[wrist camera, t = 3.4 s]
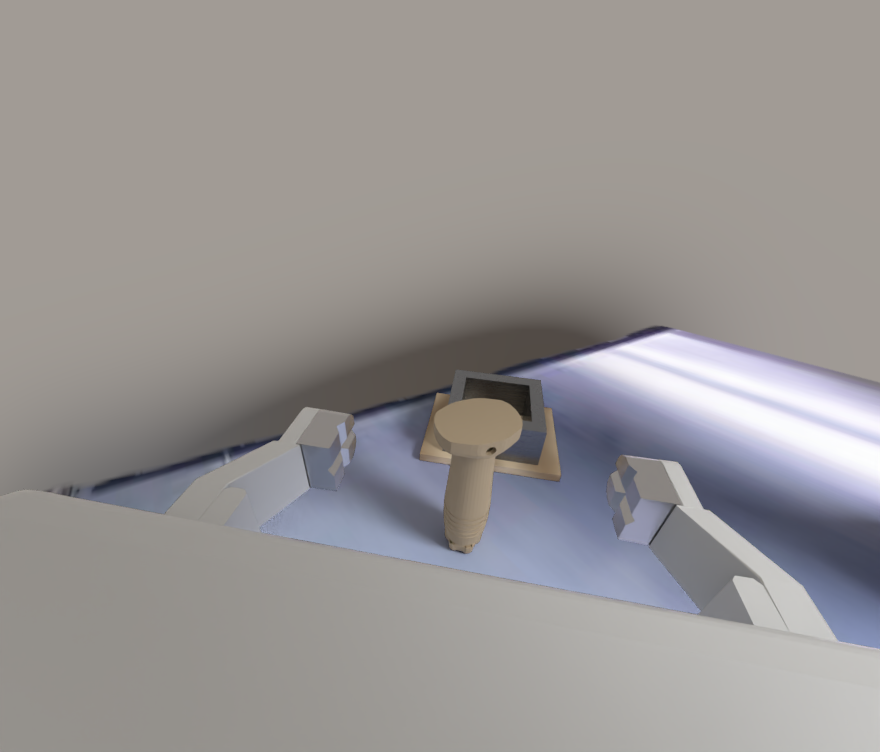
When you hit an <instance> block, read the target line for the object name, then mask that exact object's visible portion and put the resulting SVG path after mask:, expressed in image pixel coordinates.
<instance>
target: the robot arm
mask: <svg viewBox="0 0 880 752" xmlns="http://www.w3.org/2000/svg"><path fill="white" fill-rule="evenodd" d="M353 426H354V418H353V416H352V415H351V414H346V413H340V412H335V411H328V410H323V409H315V408H309V407H306V408H304V409H302V411H301V412H300V413H299V415H298V416H297V417H296V419H295V420H294V421H293V422H292V424H291V425H290V426H289V428H288V429H287V430H286V432H285V433H284V434H283V436H282V437H281V438H280V440H279V441H272V442H270V443H268V444H266V445H264V446H262V447H260V448H258V449H256V450H254V451H252V452H250V453H248V454H246V455H244V456H242V457H240V458H238V459H236V460H234V461H232V462H230V463H228V464H225V465H223V466H221V467H219V468H217V469H215V470H213V471H211V472H209V473H207V474H205V475H203V476H201V477H199V478H197V479H196V480H195V481H194V482H193V483H192V484H191V485H190V486H189V487H188V488H187V489H186V491H185V492H184V493H183V494H182V495H181V496H180V497H179V498H178V499H177V500H176V502H175V503H174V504H173V505H172V506H171V507H170V508H169V509H168V510H167V511H166V512H165V514H160V513H154V512H149V511H144V510H138V509H133V508H128V507H122V506H117V505H112V504H106V503H101V502H96V501H90V500H85V499H80V498H74V497H69V496H64V495H59V494H55V493H50V492H45V491H38V490H20V491H15V492H12V493H8V494H5V495H2V496H0V752H880V649H878V648H872V647H867V646H862V645H856V644H851V643H846V642H840V641H838V640H837V639H836V637H835V635H834V634H833V632H832V631H831V629H830V628H829V626H828V625H827V623H826V621H825V620H824V618H823V617H822V615H821V614H820V612H819V611H818V609H817V607H816V606H815V604H814V603H813V601H812V600H811V598H810V596H809V595H808V593H807V592H806V590H805V589H804V587H803V586H802V585H801V584H800V583H798V582H797V581H796V580H795V579H793V578H792V577H791V576H790V575H788V574H787V573H786V572H785V571H784V570H782V569H781V568H780V567H779V566H777V565H776V564H775V563H774V562H772V561H771V560H770V559H769V558H768V557H766V556H765V555H764V554H763V553H761V552H760V551H759V550H758V549H756V548H755V547H754V546H753V545H752V544H750V543H749V542H748V541H747V540H745V539H744V538H743V537H742V536H740V535H739V534H738V533H737V532H736V531H734V530H733V529H732V528H731V527H729V526H728V525H727V524H726V523H724V522H723V521H722V520H721V519H720V518H718V517H717V516H716V515H715V514H713V513H712V512H711V511H710V510H705V509H703V507H702V505H701V503H700V501H699V499H698V498H697V496H696V494H695V492H694V490H693V488H692V486H691V484H690V482H689V480H688V478H687V476H686V474H685V473H684V471H683V469H682V467H681V465H680V464H679V463H678V462H674V461H667V460H659V459H658V460H656V459H650V458H643V457H636V456H629V455H621V456H620V457H618V459H617V462H616V467H617V471H615V472H613V473H612V474H610V477H609V479H608V482H607V489H606V493H607V500H608V505H609V506H610V507H611V508H612V509H613V510H614V512H615V514H614V516H613V518H612V520H613V524H614V527H615V531H616V535H617V538H618V540H623V541H628V542H633V543H638V544H643V545H648V546H649V548H650V549H651V550H652V552H653V553H654V554H655V555H656V557H657V558H658V559H659V560H660V561H661V563H662V564H663V565H664V566H665V568H666V569H667V570H668V571H669V572H670V574H671V575H672V576H673V577H674V579H675V580H676V581H677V582H678V584H679V585H680V586H681V587H682V588H683V590H684V591H685V592H686V593H687V595H688V596H689V597H690V598H691V599H692V601H693V602H694V603H695V604H696V606H697V607H698V608H699V609H700V611H701V612H700V613H699V614H698V615H697V614H692V613H686V612H681V611H676V610H670V609H665V608H660V607H654V606H649V605H644V604H639V603H633V602H628V601H623V600H617V599H612V598H607V597H601V596H596V595H591V594H585V593H580V592H574V591H569V590H564V589H558V588H553V587H548V586H542V585H537V584H532V583H526V582H521V581H515V580H510V579H505V578H499V577H494V576H489V575H484V574H478V573H473V572H468V571H462V570H457V569H452V568H447V567H441V566H436V565H431V564H425V563H420V562H415V561H410V560H404V559H399V558H394V557H388V556H383V555H378V554H372V553H367V552H362V551H356V550H351V549H346V548H340V547H335V546H330V545H325V544H319V543H314V542H309V541H303V540H298V539H293V538H287V537H282V536H277V535H271V534H266V533H261V530H260V527H261V526H262V525H263V524H265V523H266V522H267V521H269V520H270V519H271V518H272V517H274V516H275V515H276V514H278V513H279V512H280V511H282V510H283V509H284V508H285V507H287V506H288V505H289V504H291V503H292V502H293V501H295V500H296V499H297V498H299V497H300V496H301V495H302V494H304V493H305V492H306V491H308V490H309V489H310V488H309V487H311V488H318V489H325V490H332V491H337V489H338V487H339V485H340V483H341V481H342V479H343V477H344V475H345V473H344V467H345V466H347V465H348V464H350V462H351V460H352V458H353V455H354V451H355V447H356V435H355V434H354V432H353V431H352V428H353Z"/></svg>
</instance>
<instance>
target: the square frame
mask: <svg viewBox="0 0 880 752" xmlns="http://www.w3.org/2000/svg"><path fill="white" fill-rule="evenodd" d="M474 398H486V399H496V400H502V401H504V402H506V403H508V404H510V405H511V406H512V407H514V408H515V409H516V411H517V412H518V413H519V415H520V416H523V420H522V422H523V425H522V431H521V435H520V438H519V440H518V441H517V442H516V443H514V444H513V445H512V446H511V447H510V448H508V449H507V450H506V451H504V452H502V453H501V454H499V455H497V456H495V459H499V460H505V461H512V462H519V463H525V464H532V465H538V463H539V459H540V456H541V452H542V449H543V445H544V442H545V438H546V435H547V428H546V420H545V412H544V403H543V395H542V386H541V380H534V379H527V378H519V377H511V376H503V375H495V374H487V373H479V372H471V371H463V370H456V372H455V376H454V380H453V385H452V389H451V393H450V398H449V402H448V405H449V404H451V403H454V402H457V401H462V400H467V399H474ZM442 451H445V450H442Z"/></svg>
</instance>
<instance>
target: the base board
mask: <svg viewBox="0 0 880 752" xmlns="http://www.w3.org/2000/svg"><path fill="white" fill-rule="evenodd" d="M449 398H450V395H448V394H441V393H437V395H436V398H435V402H434V405H433V409H432V412H431V416H430V420H429V423H428V427H427V430H426V434H425V437H424V441H423V444H422V448H421V451H420V460H423V461H429V462H436V463H442V464H449V465H450V463H451V457H452V454H449V453H448V452H446V451H442V450H443V449H442V448H441V446H440V445H439V444H438V442H437V440H436V438H435V435H434V417H435V414H436V412H437V411H439V410H440V409H442V408H444V407H446V406H447V405H448V402H449ZM544 412H545V420H546V428H547V435H546V438H545V442H544V445H543V449H542V452H541V456H540V459H539V463H538V465H532V464H525V463H519V462H512V461H505V460H499V459H495V464H494V472H500V473H507V474H513V475H520V476H526V477H533V478H539V479H546V480H552V481H560V478H561V471H560V464H559V457H558V450H557V443H556V436H555V429H554V422H553V415H552V409H551V408H545V407H544ZM521 418H522V420H523V416H521Z"/></svg>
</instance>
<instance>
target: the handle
mask: <svg viewBox="0 0 880 752" xmlns="http://www.w3.org/2000/svg"><path fill="white" fill-rule="evenodd" d="M522 425H523V422H522V418H521V416H520V415H519V413H518V412H517V411H516V409H515V408H514V407H512V406H511V405H510V404H508V403H506V402H504V401H502V400H496V399H486V398H474V399H467V400H462V401H457V402H454V403H451V404H449V405H447V406H446V407H444V408H442V409H440V410H439V411H437V412H436V414H435V417H434V435H435V438H436V440H437V442H438V444H439V445H440V446H441V448H442V449H443V450H445V451H446V452H448V453H449V454H452V457H451V463H450V470H449V476H448V481H447V487H446V492H445V499H444V525H445V537H446V538H447V539H448V541H449V547H450V549H452V550H453V551H454V550H459V551H462V552H464V553H466V554H467V553H470V552H472V550H473V547H474V545H475V544H477V543H479V541H480V539H481V536H482V533H483V530H484V528H485V525H486V522H487V518H488V514H489V509H490V503H491V493H492V481H493V472H494V464H495V456H497V455H499V454H501V453H502V452H504V451H506V450H507V449H508V448H510V447H511V446H512V445H513V444H514V443H516V442H517V441H518V440H519V438H520V435H521V431H522Z"/></svg>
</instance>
